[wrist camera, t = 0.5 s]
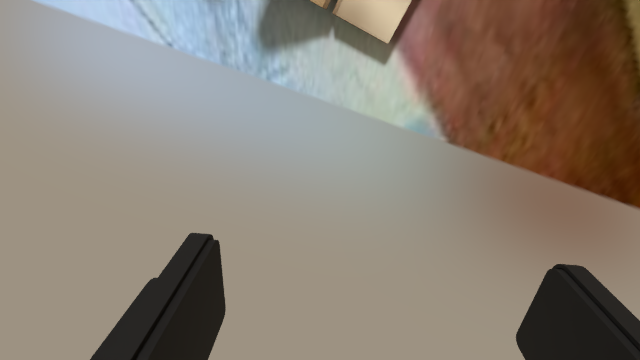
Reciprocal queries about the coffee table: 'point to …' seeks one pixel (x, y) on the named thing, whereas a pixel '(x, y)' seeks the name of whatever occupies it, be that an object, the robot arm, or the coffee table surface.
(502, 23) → the coffee table surface
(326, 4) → the plank
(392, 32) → the laid board
